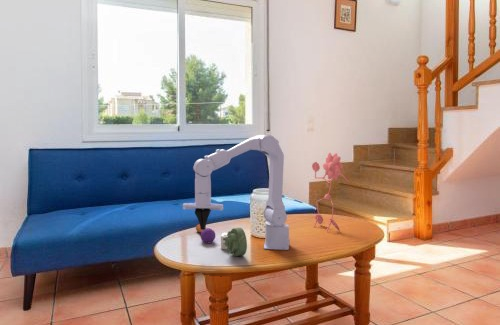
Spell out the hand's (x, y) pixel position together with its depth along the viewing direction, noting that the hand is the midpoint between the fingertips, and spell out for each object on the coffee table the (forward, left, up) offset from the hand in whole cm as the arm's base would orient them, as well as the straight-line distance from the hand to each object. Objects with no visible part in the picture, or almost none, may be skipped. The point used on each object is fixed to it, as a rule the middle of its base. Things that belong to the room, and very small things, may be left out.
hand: (203, 228), depth 137 cm
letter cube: (-8, -9, -10) cm, 16 cm away
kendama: (+4, -21, -10) cm, 23 cm away
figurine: (-52, -41, -10) cm, 67 cm away
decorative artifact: (-11, +1, -10) cm, 15 cm away
